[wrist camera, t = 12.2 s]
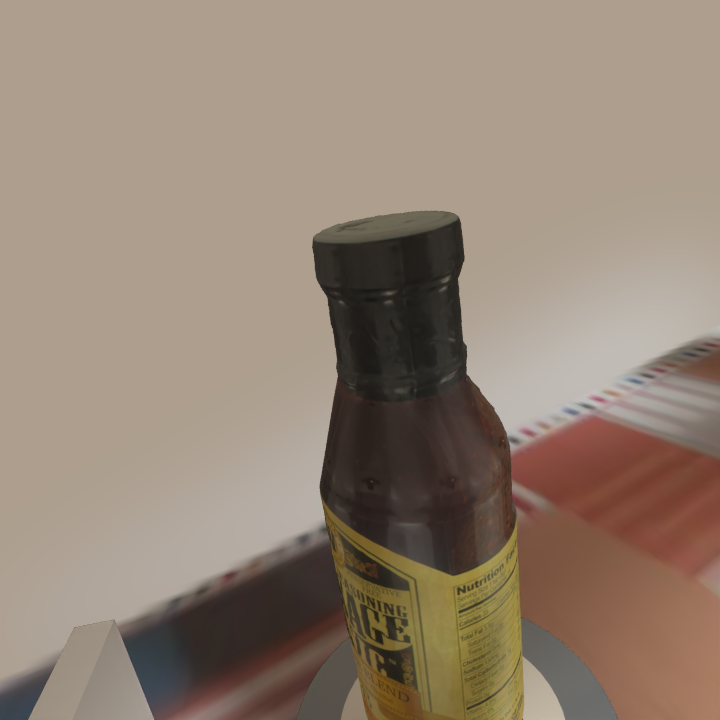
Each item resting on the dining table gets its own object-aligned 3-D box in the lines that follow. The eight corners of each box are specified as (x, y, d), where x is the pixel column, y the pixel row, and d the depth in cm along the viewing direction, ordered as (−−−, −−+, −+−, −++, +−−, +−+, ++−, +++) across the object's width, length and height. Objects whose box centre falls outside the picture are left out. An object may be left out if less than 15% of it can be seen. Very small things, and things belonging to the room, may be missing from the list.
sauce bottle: (351, 687, 24) (249, 234, 17) (477, 635, 25) (428, 199, 19) (408, 852, 18) (285, 255, 11) (569, 771, 19) (545, 201, 13)
